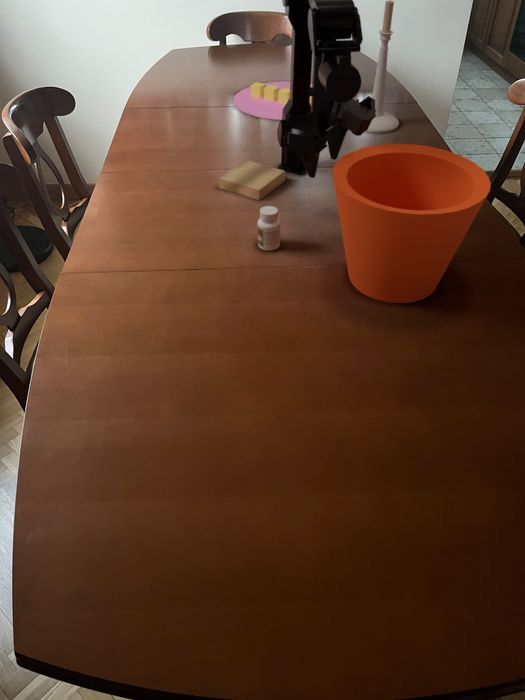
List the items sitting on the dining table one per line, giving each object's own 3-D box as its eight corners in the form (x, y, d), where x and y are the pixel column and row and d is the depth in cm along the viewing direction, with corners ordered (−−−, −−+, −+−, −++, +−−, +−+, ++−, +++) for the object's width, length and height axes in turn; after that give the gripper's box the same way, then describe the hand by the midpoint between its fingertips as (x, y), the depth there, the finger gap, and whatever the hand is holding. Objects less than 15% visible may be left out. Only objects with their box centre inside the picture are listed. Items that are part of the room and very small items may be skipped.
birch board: (218, 188, 135) (218, 177, 133) (245, 169, 142) (245, 159, 140) (259, 200, 130) (259, 189, 129) (284, 180, 137) (285, 170, 136)
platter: (307, 128, 160) (307, 116, 157) (211, 106, 173) (211, 94, 170) (358, 93, 180) (359, 81, 177) (269, 75, 192) (269, 64, 190)
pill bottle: (256, 239, 118) (256, 205, 113) (278, 238, 118) (279, 203, 113) (258, 251, 115) (258, 216, 110) (281, 250, 115) (281, 215, 110)
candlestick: (403, 118, 165) (422, -4, 144) (391, 135, 156) (409, 7, 136) (359, 112, 169) (372, -9, 148) (345, 128, 160) (356, 2, 140)
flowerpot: (321, 239, 118) (328, 143, 105) (447, 241, 117) (470, 144, 104) (328, 318, 100) (337, 213, 86) (477, 320, 99) (510, 215, 86)
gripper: (348, 107, 93) (340, 198, 103) (392, 74, 105) (381, 159, 115) (286, 95, 97) (285, 183, 108) (336, 65, 109) (330, 147, 120)
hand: (323, 168), depth 113 cm, fingers open, 9 cm apart
